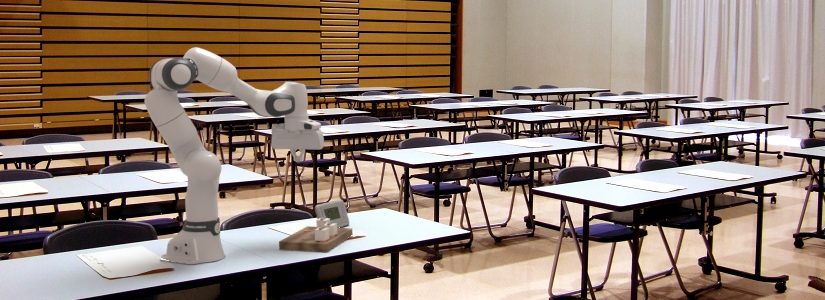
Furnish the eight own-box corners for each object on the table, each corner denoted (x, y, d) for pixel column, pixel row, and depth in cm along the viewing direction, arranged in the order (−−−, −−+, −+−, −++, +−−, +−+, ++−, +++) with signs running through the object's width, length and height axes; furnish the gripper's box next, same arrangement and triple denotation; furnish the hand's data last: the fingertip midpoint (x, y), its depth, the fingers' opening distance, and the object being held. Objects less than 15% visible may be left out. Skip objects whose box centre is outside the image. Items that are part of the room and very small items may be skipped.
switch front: (315, 240, 309) (314, 228, 308) (319, 238, 313) (318, 225, 312) (325, 241, 308) (324, 228, 307) (329, 238, 311) (328, 226, 311)
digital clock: (322, 233, 336) (321, 206, 334) (309, 229, 342) (308, 203, 341) (354, 226, 346) (354, 201, 345) (341, 223, 353) (341, 198, 352)
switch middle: (323, 235, 316) (323, 223, 316) (327, 233, 320) (327, 221, 320) (333, 236, 315) (332, 224, 315) (337, 233, 319) (336, 221, 318)
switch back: (316, 230, 326) (316, 218, 325) (320, 228, 329) (320, 216, 329) (326, 230, 325) (326, 219, 324) (330, 228, 328) (329, 216, 328)
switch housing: (279, 249, 310) (278, 241, 310) (307, 233, 335) (307, 225, 334) (327, 252, 305) (327, 243, 304) (352, 235, 329) (352, 227, 329)
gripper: (267, 125, 316) (269, 161, 317) (318, 125, 310) (319, 162, 312) (275, 123, 322) (276, 159, 323) (324, 123, 316) (326, 160, 318)
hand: (298, 160), depth 317 cm, fingers closed
